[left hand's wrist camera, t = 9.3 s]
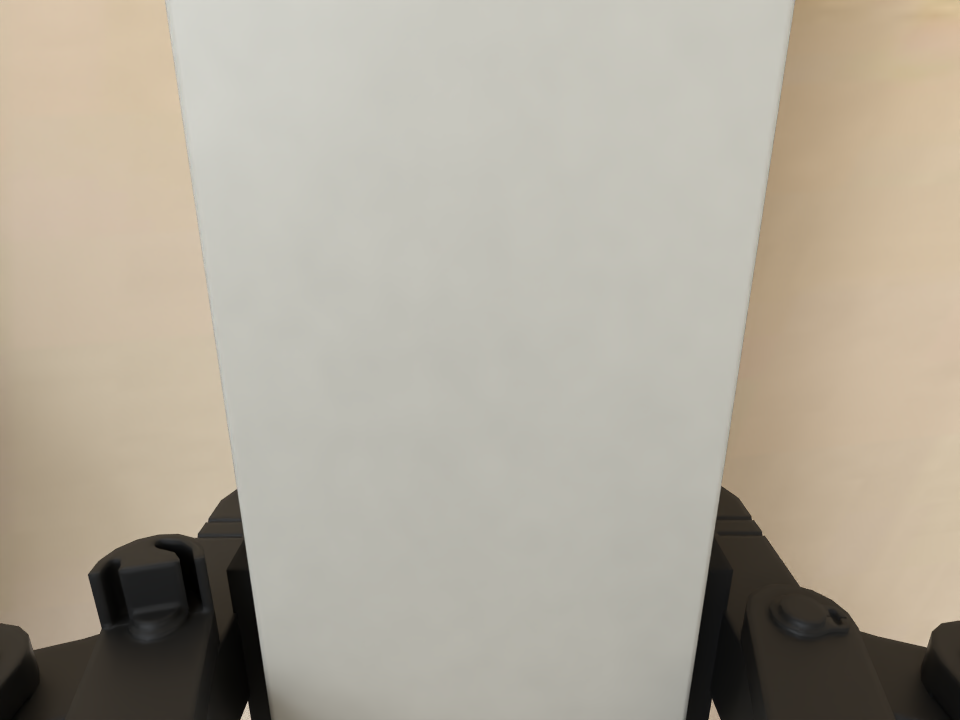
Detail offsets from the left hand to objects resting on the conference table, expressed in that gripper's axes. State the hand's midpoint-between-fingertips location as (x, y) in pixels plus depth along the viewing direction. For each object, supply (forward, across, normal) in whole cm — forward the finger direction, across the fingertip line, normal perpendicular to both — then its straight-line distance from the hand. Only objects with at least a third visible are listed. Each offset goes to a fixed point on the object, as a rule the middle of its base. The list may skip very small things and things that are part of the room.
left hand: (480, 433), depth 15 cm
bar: (+1, 0, -35) cm, 35 cm away
